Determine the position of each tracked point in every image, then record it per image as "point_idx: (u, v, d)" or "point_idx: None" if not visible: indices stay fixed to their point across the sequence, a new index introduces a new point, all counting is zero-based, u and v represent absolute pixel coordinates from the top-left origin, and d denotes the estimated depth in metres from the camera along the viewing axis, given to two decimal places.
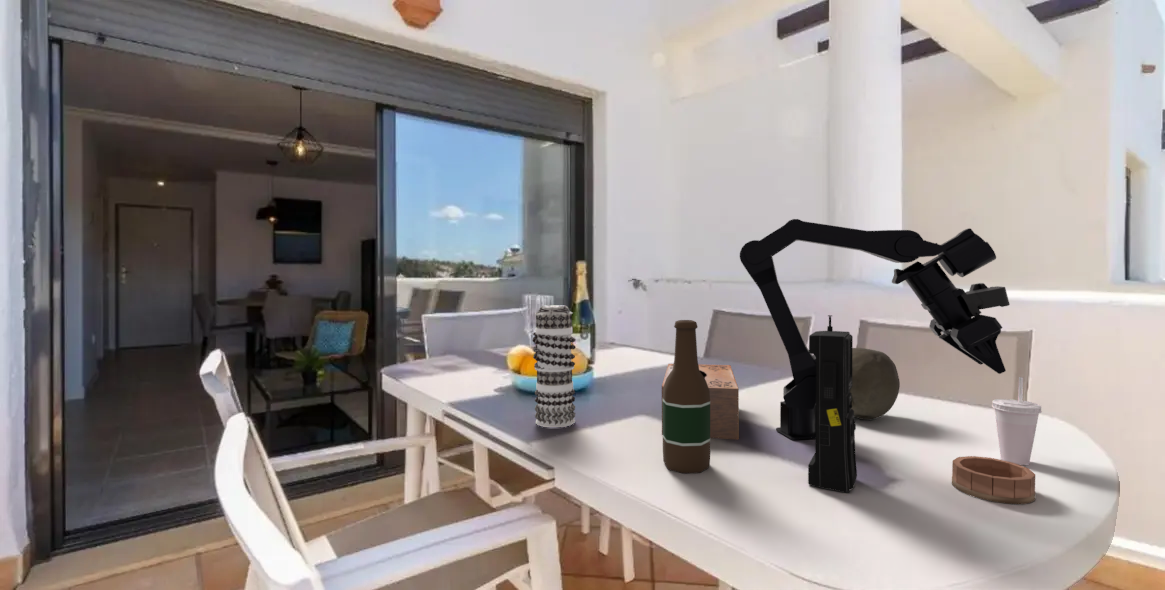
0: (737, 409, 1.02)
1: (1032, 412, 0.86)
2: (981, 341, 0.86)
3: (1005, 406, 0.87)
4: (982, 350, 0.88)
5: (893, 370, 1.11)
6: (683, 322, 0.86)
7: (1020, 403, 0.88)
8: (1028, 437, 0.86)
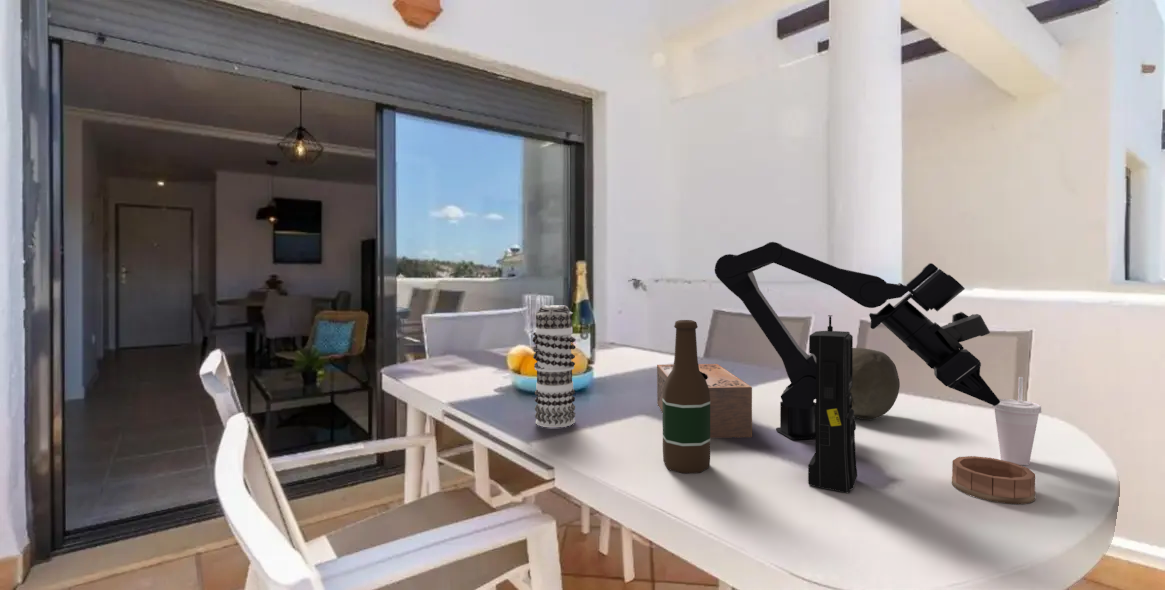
0: (750, 407, 1.03)
1: (1032, 412, 0.86)
2: (963, 377, 0.85)
3: (1005, 406, 0.87)
4: (969, 384, 0.87)
5: (893, 370, 1.11)
6: (683, 322, 0.86)
7: (1020, 403, 0.88)
8: (1028, 437, 0.86)
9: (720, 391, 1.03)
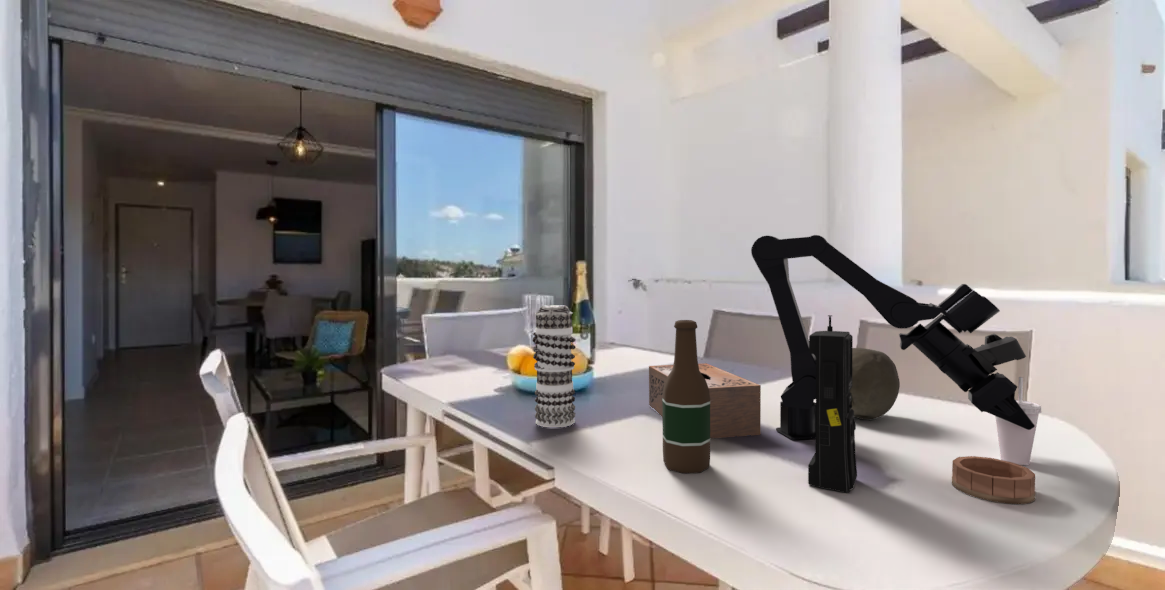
0: (759, 405, 1.04)
1: (1032, 412, 0.86)
2: (998, 401, 0.84)
3: None
4: (1003, 408, 0.86)
5: (893, 370, 1.11)
6: (683, 322, 0.86)
7: (1020, 403, 0.88)
8: (1028, 437, 0.86)
9: (731, 391, 1.03)
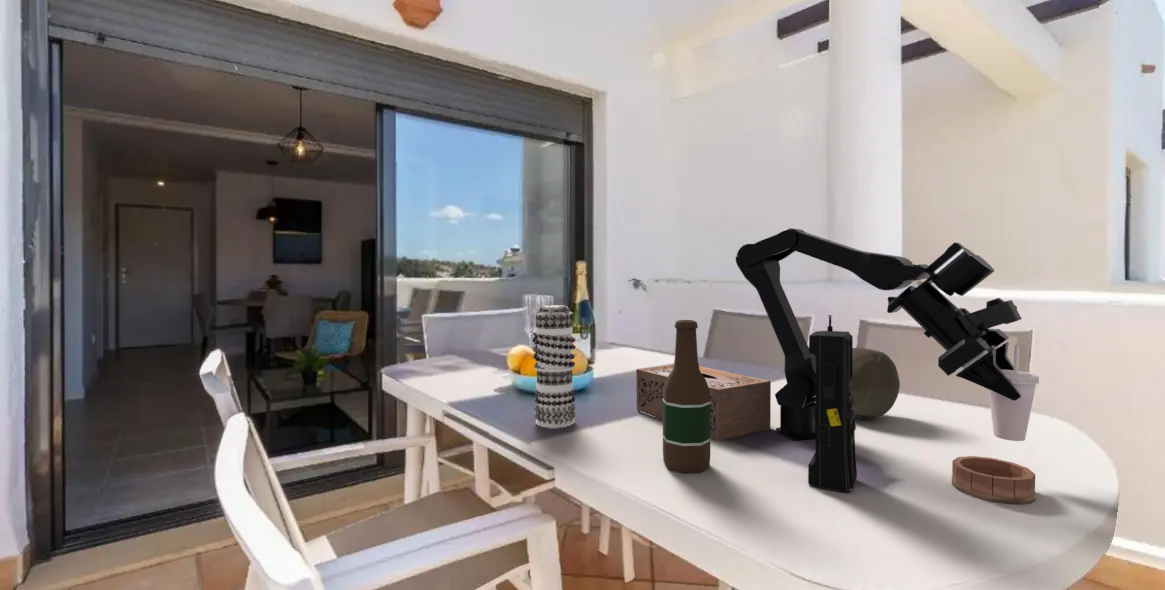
0: (769, 400, 1.08)
1: (1022, 383, 0.78)
2: (971, 366, 0.78)
3: None
4: (984, 375, 0.79)
5: (893, 370, 1.11)
6: (683, 322, 0.86)
7: (1014, 373, 0.80)
8: (1018, 410, 0.78)
9: (749, 388, 1.05)
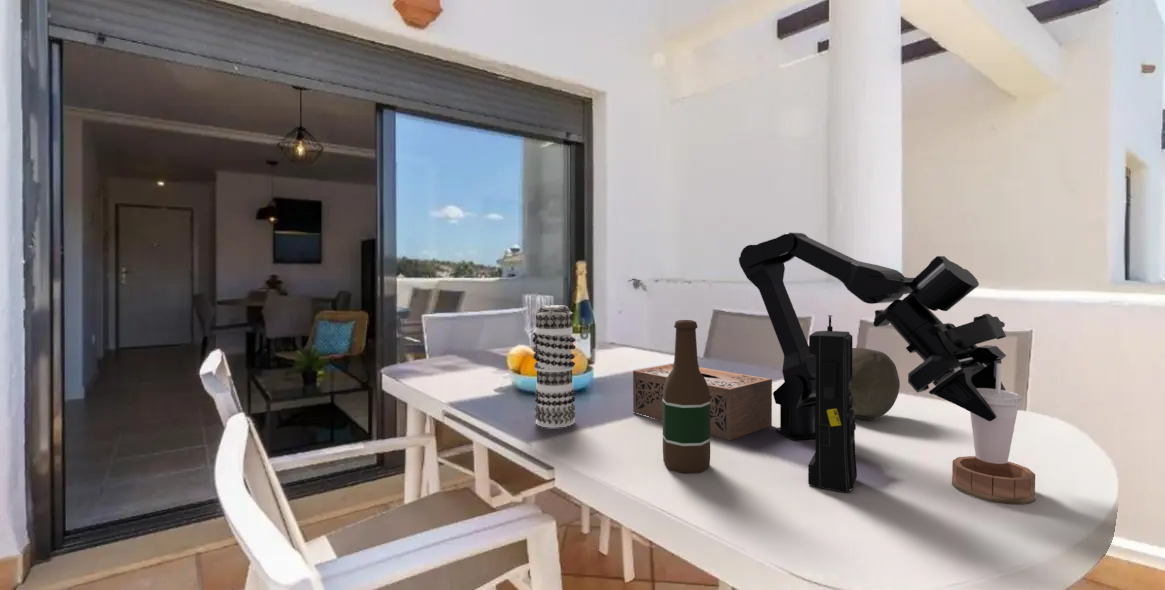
0: (771, 398, 1.10)
1: (999, 403, 0.74)
2: (942, 383, 0.76)
3: None
4: (958, 393, 0.77)
5: (893, 370, 1.11)
6: (683, 322, 0.86)
7: (994, 393, 0.76)
8: (996, 431, 0.75)
9: (754, 387, 1.07)
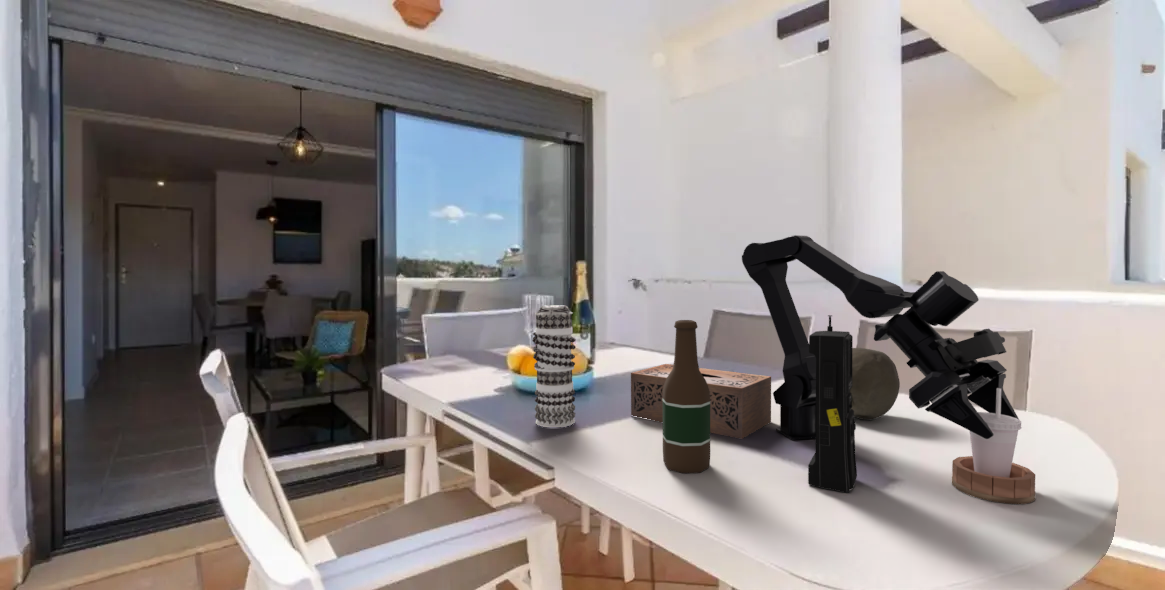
0: (770, 395, 1.13)
1: (999, 428, 0.75)
2: (938, 401, 0.76)
3: None
4: (955, 411, 0.76)
5: (893, 370, 1.11)
6: (683, 322, 0.86)
7: (994, 417, 0.77)
8: (996, 456, 0.75)
9: (759, 385, 1.08)
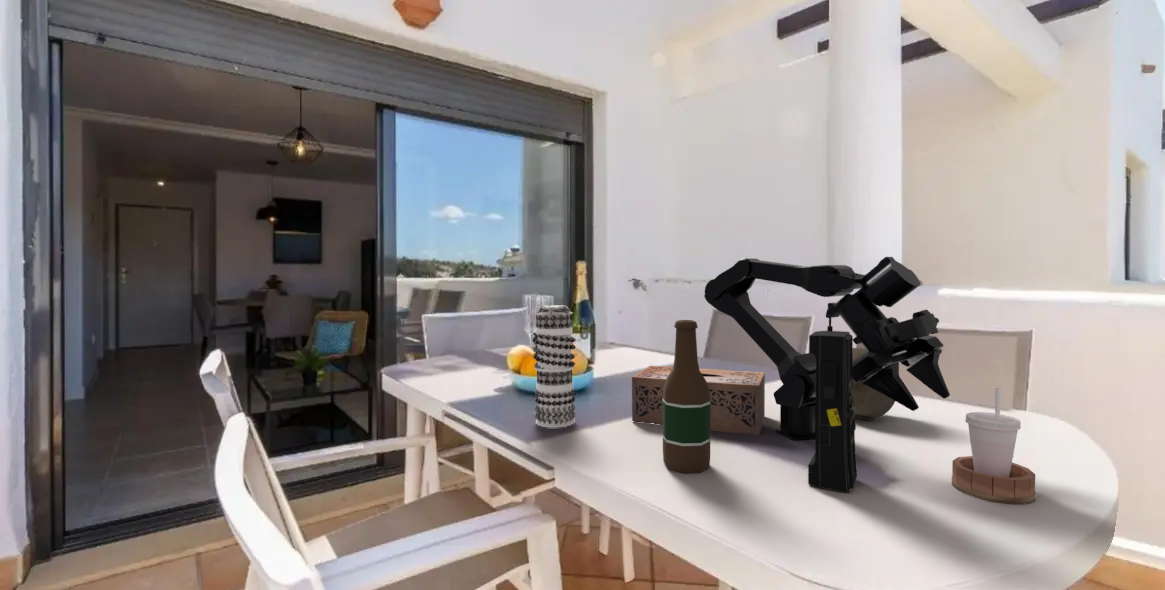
0: (764, 390, 1.17)
1: (998, 428, 0.75)
2: (873, 377, 0.85)
3: (970, 418, 0.78)
4: (887, 385, 0.85)
5: None
6: (683, 322, 0.86)
7: (994, 417, 0.77)
8: (995, 456, 0.75)
9: (762, 381, 1.12)
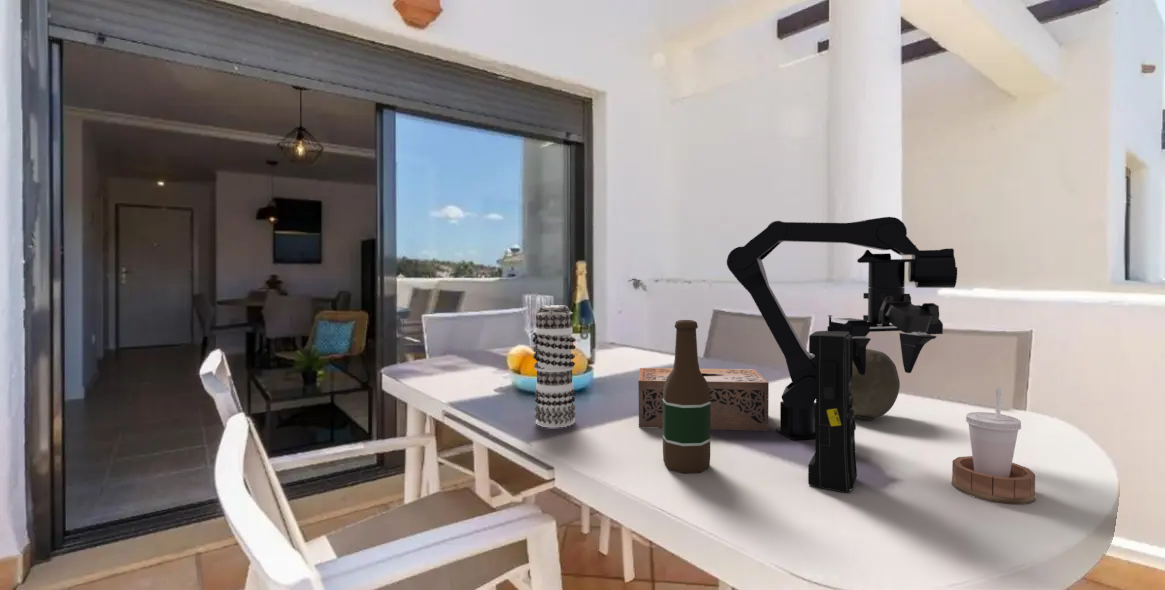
0: None
1: (999, 428, 0.75)
2: None
3: (970, 418, 0.78)
4: (853, 347, 0.97)
5: (893, 370, 1.11)
6: (683, 322, 0.86)
7: (994, 417, 0.77)
8: (996, 457, 0.75)
9: None
